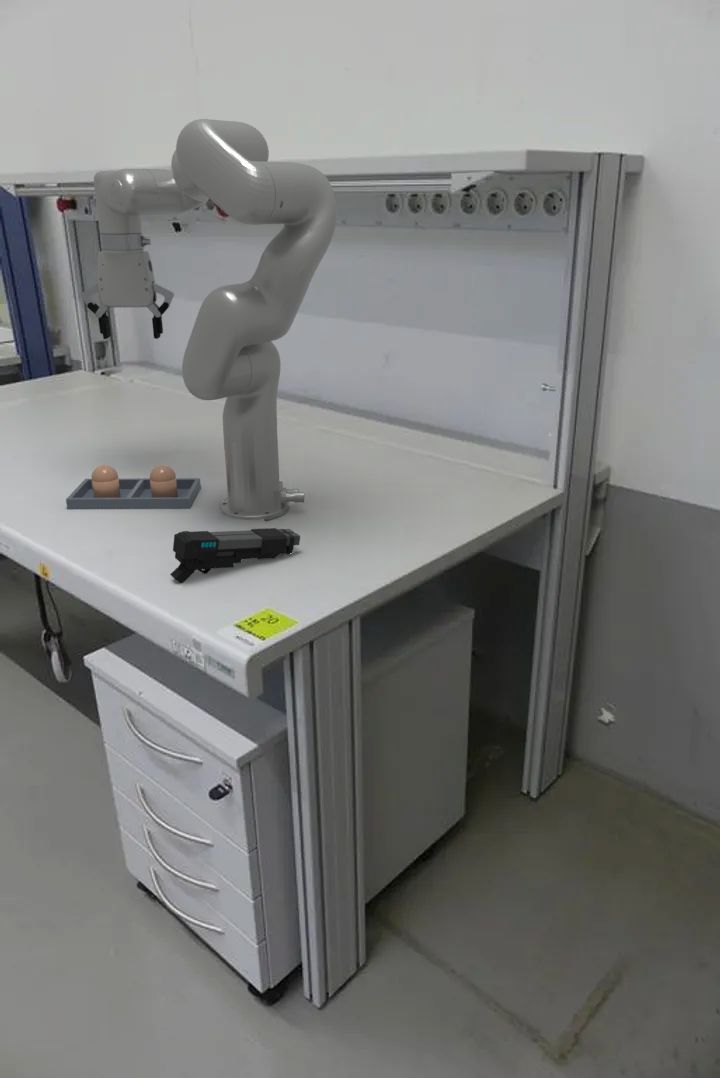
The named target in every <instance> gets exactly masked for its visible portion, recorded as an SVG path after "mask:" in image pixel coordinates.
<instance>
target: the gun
mask: <svg viewBox="0 0 720 1078" xmlns="http://www.w3.org/2000/svg"><path fill="white" fill-rule="evenodd" d="M300 541H301V535H300V534H299V533H297V532H295V531H294V530H293V529H291V528H276V527H272V528H271V527H270V528H269V527H267V528H251V529H250V530H247V529H246V530H230V531H229V530H225V531H222V530H221V531H208V530H202V531H189V530H184V531H183V530H182V531H179V532H178V533H175V534H174V536H173V545H172V546H173V548H172V551H173V552H174V554H175V555H174V559H175V560H177V561H178V562H179V565H178V566H177V567H176V568H174V570H173V571H171V573H169V574H170V576H171V577H172V578H173V579H174V580H175V582H177V583H178V584H179V585H180V584H184V583H185V582H186V581H187V580H188V579H189V578H190V577H191V576H192V575H193V574H194V573H195V572H196V571H198V572H201V573H202V574H203V575H206V574H208V573H210V572H211V570H214V569H226V568H227V569H228V568H230V569H231V568H234V566H235V564H242V560H252V559H257V560H267V559H276V558H277V557H278V556H280V555H284V554H285V555H288V554H290V553H292V552H293V553H294V547H295V546H299V545H300ZM293 553H292V554H293Z"/></svg>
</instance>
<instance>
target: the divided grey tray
mask: <svg viewBox="0 0 720 1078" xmlns="http://www.w3.org/2000/svg"><path fill="white" fill-rule="evenodd" d="M118 479H119V486H120V494H121V498H94V492H93V485H92V478H84V479H83V480H82V481H81V483H80V484H79V485H78V486H77V487H76V488H75V489H74V491H72V492H71V493H70V495H69V496H67V498H66V499H65V502H66V509H67V510H183V509H184V510H190V509H191V508H192V506H193V504H194V502H195V500H196V498H197V496H198V494H199V492H200V490H201V488H202V485H201V478H200V477H199V478H198V477H194V478H191V477H189V478H188V477H185V478H183V477H180V478H178V477H176V483H177V493H178V497H154V498H152V494H151V485H150V477H149V478H146V477H145V478H118Z"/></svg>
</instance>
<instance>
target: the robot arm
mask: <svg viewBox="0 0 720 1078" xmlns="http://www.w3.org/2000/svg"><path fill="white" fill-rule="evenodd" d="M269 156H270V154H269V145H268V142H267V140H266V138H265V137H264V135H263V134H262V132H261V131H260V130H258V129H257V128H256V127H254V126H253V125H250V124H248V123H245V122H242V121H234V120H233V121H232V120H222V119H221V120H220V119H208V118H198V119H194V120H192V121H190V122H188V123H187V124H185V126H184V127H183V128H182V130H180V132H179V134H178V136H177V140H176V145H175V150H174V151H173V154H172V156H171V161H170V162H171V164H170V167H171V169H162V168H161V169H160V168H123V169H118V170H101V171H100V170H99V171H98V172H96V173H95V174H94V176H93V185H94V186H93V187H94V196H95V203H96V210H97V211H96V212H97V219H98V228H99V229H98V230H99V237H100V239H99V240H100V248H101V251H98V253H97V254H98V256H97V284H95V285H93V286H92V287H90V288H88V289H86V290H84V291H82V292H81V294H80V297H81V298H82V300H83V301H84V304H85V305H86V306H87V308H88V309H89V311H90V312H92V313H93V314H94V315H95V317H96V318H98V320H97V321H98V326H99V328H98V329H99V333H100V334H101V335H102V339H103V340H108V339H109V338H111V337H112V334H111V332H112V331H111V325H110V317H109V316H108V315H107V312H109V309H110V308H147V309H148V311H150V312H151V314H153V316H152V318H151V320H152V323H151V324H152V330H153V331H152V332H153V339H156V340H158V339H159V338H160V337H161V334H163V333H164V328H163V327H164V326H163V317H162V316H163V314H165V313H166V311H167V310H168V309H169V308H170V306H171V304H172V302H173V299H174V297H175V293H174V292H173V291H171V290H169V289H167V288H165V287H164V286H161V284H158V283H156V282H155V275H154V268H153V263H152V260H151V256H150V253H149V251H147V250H144V249H145V247H147V246H150V245H151V244H152V241H151V237H149V236H148V237H147V236H145V235H144V233H143V229H142V221H141V216H166V215H167V216H170V215H179V214H182V213H186V212H189V211H192V210H195V209H197V208H199V207H202V206H204V205H206V203H207V202H208V201H209V200H211V201H212V202H213V203H214V204H215V205H216V206H217V207H218V208H220V210H222V211H223V212H224V213H225V214H226V215H228V216H229V217H230V218H231V219H232V220H235V221H237V222H239V223H241V224H244V225H249V226H250V225H251V226H252V225H253V226H257V225H260V226H261V225H282V224H283V226H282V227H281V229H280V231H279V232H278V233H277V234H276V235H275V236H274V237H273V238H271V240H270V241H269V243H268V244H267V246H266V247H265V249H264V250H263V252H262V253H261V255H260V259H259V261H258V264H257V267H256V269H255V271H254V273H253V275H252V277H250V279H249V280H247V281H245V282H242V283H233V284H226V285H222V286H220V287H217V288H215V289H213V290H212V291H211V292H210V293H208V295H206V297H205V298H204V299H203V301H202V303H201V306H200V308H199V309H198V313H197V316H196V319H195V322H194V324H193V327H192V330H191V334H190V336H189V338H188V340H187V341H188V342H187V344H186V348H185V350H184V353H183V359H182V364H181V374H182V379H183V383H184V386H185V387H186V389H187V390H188V392H189V393H190V394H191V395H192V396H194V397H195V398H197V399H198V400H199V399H200V400H203V401H216V400H217V401H218V400H220V399H225V398H226V399H225V402H224V406H223V411H222V431H223V445H224V447H223V448H224V461H225V476H226V487H227V488H226V489H227V498H225V499H224V500H222V501H221V503H220V504H219V510H220V512H221V513H222V515H225V516H226V517H229V518H232V519H237V520H245V521H246V520H249V521H250V520H254V521H255V520H264V521H268V520H273V519H276V518H279V517H281V516H283V515H285V513H287V512H288V511H289V509H290V503H305V491H299V490H300V489H299V488H289V489H287V488H286V487H283V486H284V483H283V481H282V480H280V468H279V467H280V466H279V465H280V464H279V444H278V443H279V442H278V441H279V440H278V438H279V437H278V411H277V410H278V409H277V408H278V407H277V403H278V402H277V400H278V399H277V398H278V391H279V389H278V388H279V381H280V378H281V377H280V375H281V358H280V353H279V350H278V349H277V347H276V344H275V343H274V341H277V340H280V339H281V338H282V337H285V335H287V334H288V332H289V330H290V329H291V327H292V325H293V323H294V320H295V318H296V316H297V314H298V311H299V309H300V307H301V305H302V303H303V300H304V298H305V296H306V294H307V292H308V289H309V287H310V284H311V282H312V279H313V277H314V275H315V273H316V271H317V269H318V267H319V265H320V263H321V261H322V260H323V258H324V256H325V255H326V252H327V251H328V248H329V247H330V245H331V242H332V239H333V237H334V234H335V230H336V225H337V220H338V219H337V215H338V211H337V208H338V207H337V201H336V196H335V191H334V188H333V186H332V184H331V182H330V181H329V179H328V177H327V176H326V175H325V174H324V173H323V172H322V171H321V170H319V169H317V167H314V166H311V165H308V164H305V163H300V162H292V161H291V162H287V161H269ZM95 294H98V297H99V299H98V300H99V302H100V304H101V305H100V306H99V305H98V304H97V303H96V302H94V300H93V298H92V296H94V295H95ZM157 294H159V295H161V296H163V297H164V300H163V302H162V304H161V305H160V306H159V304H158V303H157V301H158V299H157V298H158V295H157Z"/></svg>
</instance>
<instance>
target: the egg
mask: <svg viewBox="0 0 720 1078" xmlns="http://www.w3.org/2000/svg"><path fill="white" fill-rule="evenodd" d="M91 479H92V485H93V492H94V498H121V494H120V486H119V479H120V478H119V474H118V472H117V470H116V469H115V468H114V467H113V466H110V465H106V464H103V465H99V466H97V467H96V468H95V469H94V470H93V471H92V472H91Z"/></svg>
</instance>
